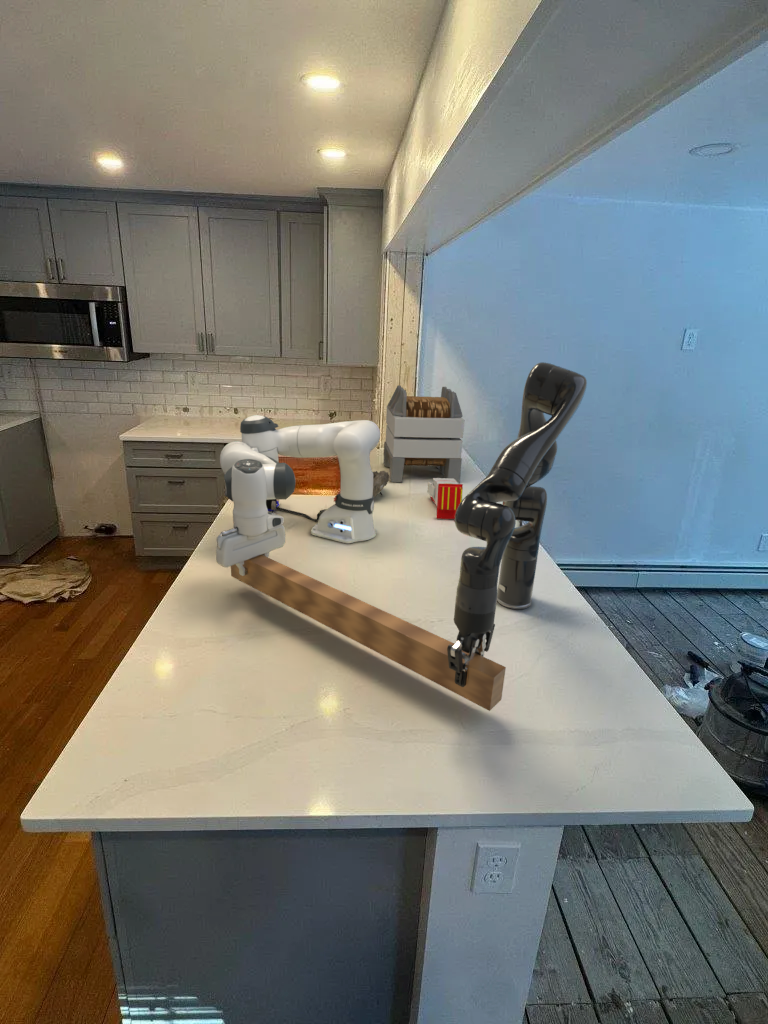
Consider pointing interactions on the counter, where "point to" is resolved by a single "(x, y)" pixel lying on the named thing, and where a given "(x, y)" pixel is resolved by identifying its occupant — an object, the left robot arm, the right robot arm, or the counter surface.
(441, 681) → the post
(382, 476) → the fossil
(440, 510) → the toy
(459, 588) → the right robot arm
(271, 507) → the figurine character
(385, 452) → the transformer
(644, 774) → the counter surface
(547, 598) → the counter surface
